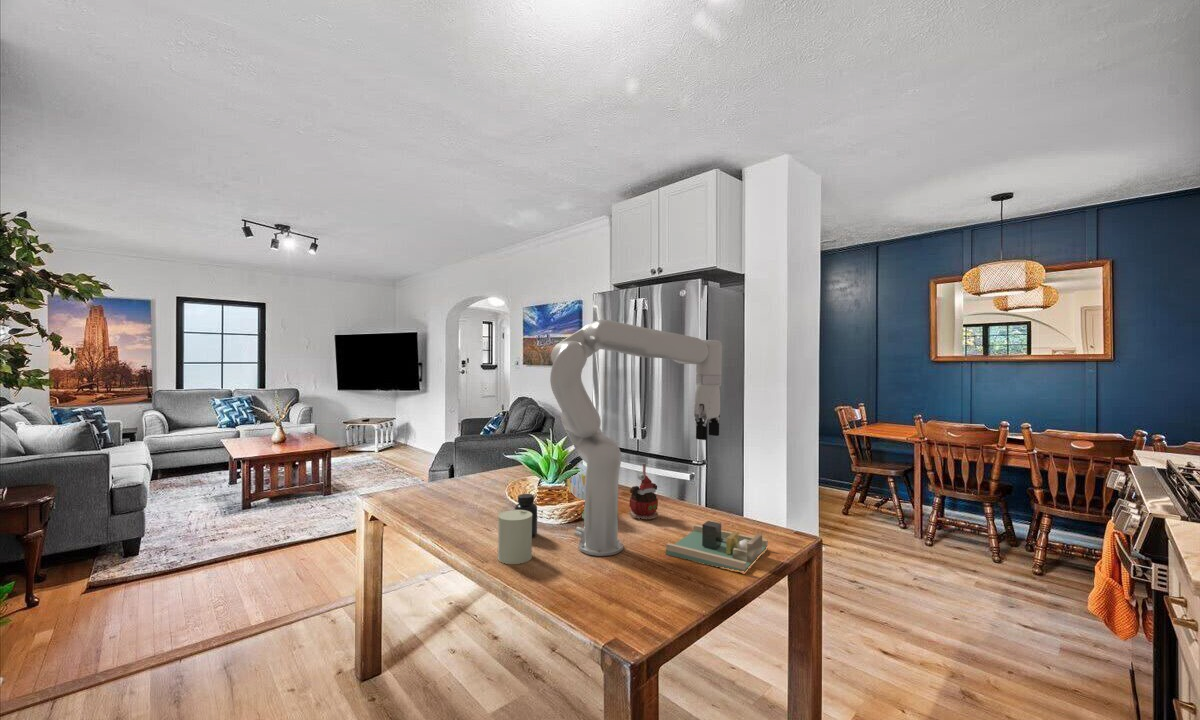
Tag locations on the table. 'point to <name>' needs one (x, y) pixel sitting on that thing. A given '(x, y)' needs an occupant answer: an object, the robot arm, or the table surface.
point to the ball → (742, 545)
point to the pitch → (709, 550)
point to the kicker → (718, 537)
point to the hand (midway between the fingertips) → (707, 437)
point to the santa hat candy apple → (644, 498)
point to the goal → (749, 549)
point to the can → (515, 536)
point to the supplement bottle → (528, 509)
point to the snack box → (578, 484)
